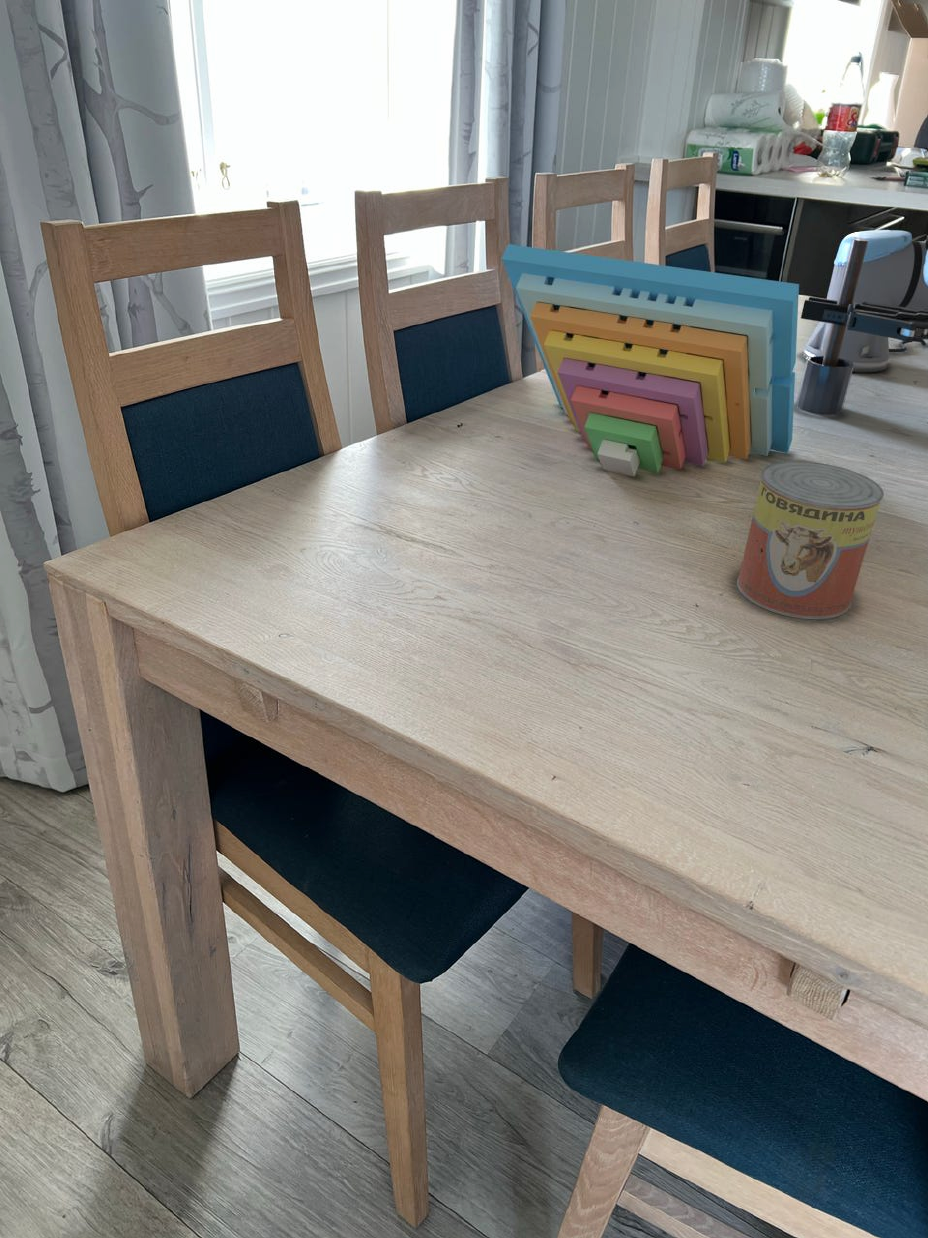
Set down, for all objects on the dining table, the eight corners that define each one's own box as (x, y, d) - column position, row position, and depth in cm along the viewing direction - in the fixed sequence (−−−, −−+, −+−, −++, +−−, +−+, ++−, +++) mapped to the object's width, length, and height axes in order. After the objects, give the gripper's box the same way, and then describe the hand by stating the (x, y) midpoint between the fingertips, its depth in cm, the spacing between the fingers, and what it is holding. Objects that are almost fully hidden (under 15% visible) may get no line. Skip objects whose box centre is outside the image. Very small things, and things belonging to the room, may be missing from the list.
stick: (815, 396, 152) (854, 237, 139) (829, 398, 151) (869, 239, 139) (812, 399, 150) (851, 239, 138) (826, 402, 149) (867, 241, 137)
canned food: (727, 602, 94) (752, 490, 88) (746, 558, 103) (770, 453, 97) (846, 630, 90) (880, 515, 84) (854, 582, 99) (886, 475, 93)
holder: (801, 401, 155) (812, 353, 151) (844, 410, 152) (857, 360, 148) (790, 412, 150) (802, 361, 146) (835, 421, 147) (848, 370, 143)
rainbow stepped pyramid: (524, 493, 143) (455, 366, 112) (564, 393, 147) (508, 243, 115) (754, 550, 130) (748, 424, 98) (792, 439, 133) (799, 284, 102)
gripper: (955, 370, 132) (787, 341, 142) (966, 348, 144) (811, 323, 154) (972, 316, 128) (799, 289, 138) (983, 298, 140) (822, 275, 150)
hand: (805, 307), depth 146 cm, fingers closed on stick, 2 cm apart
